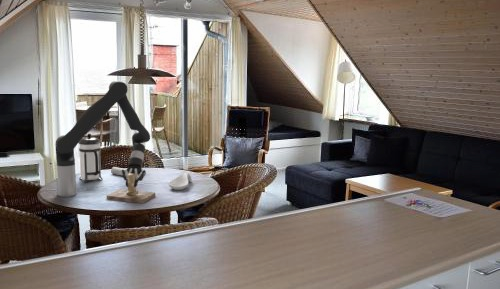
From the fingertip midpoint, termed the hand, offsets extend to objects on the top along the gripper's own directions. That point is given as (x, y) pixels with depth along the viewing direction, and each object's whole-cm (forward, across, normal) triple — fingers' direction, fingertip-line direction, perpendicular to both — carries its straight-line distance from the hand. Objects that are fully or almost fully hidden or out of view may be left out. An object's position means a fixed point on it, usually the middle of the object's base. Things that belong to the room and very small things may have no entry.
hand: (131, 186), depth 229 cm
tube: (-29, -16, +39) cm, 51 cm away
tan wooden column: (+2, 0, +5) cm, 5 cm away
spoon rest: (-14, +24, +24) cm, 37 cm away
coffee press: (-20, -34, +30) cm, 50 cm away
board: (+4, 0, +5) cm, 7 cm away
